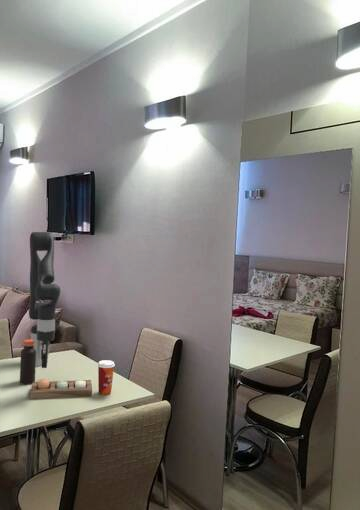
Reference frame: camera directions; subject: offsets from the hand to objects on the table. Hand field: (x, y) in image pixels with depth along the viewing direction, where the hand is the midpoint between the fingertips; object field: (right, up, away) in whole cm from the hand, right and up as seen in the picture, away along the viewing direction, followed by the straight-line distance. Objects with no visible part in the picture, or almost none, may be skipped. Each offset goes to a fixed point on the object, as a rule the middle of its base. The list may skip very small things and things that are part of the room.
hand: (44, 367), depth 180 cm
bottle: (-12, -11, +12) cm, 20 cm away
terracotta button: (-1, -10, +1) cm, 10 cm away
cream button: (+15, -12, +5) cm, 20 cm away
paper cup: (+26, -13, +6) cm, 30 cm away
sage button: (+7, -12, +3) cm, 14 cm away
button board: (+7, -12, +3) cm, 14 cm away
